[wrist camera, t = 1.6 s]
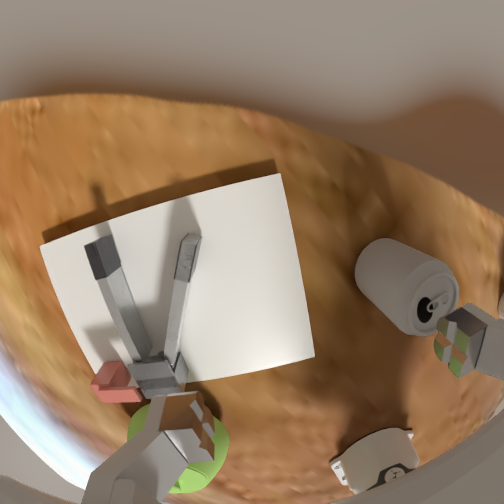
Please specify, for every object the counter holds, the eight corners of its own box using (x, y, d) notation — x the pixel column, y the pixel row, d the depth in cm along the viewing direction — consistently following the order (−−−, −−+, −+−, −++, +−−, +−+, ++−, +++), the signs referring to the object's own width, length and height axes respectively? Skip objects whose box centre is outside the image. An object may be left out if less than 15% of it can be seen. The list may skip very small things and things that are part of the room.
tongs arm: (180, 350, 31) (174, 369, 27) (167, 347, 30) (161, 366, 27) (202, 236, 27) (197, 245, 24) (188, 232, 27) (180, 240, 24)
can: (341, 257, 31) (393, 299, 19) (391, 224, 30) (457, 248, 18) (364, 306, 32) (413, 358, 21) (410, 273, 32) (469, 311, 20)
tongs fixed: (189, 370, 32) (183, 395, 27) (155, 374, 32) (146, 398, 27) (135, 226, 27) (117, 235, 22) (99, 237, 27) (77, 248, 22)
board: (312, 350, 34) (315, 356, 32) (108, 383, 34) (105, 389, 32) (278, 173, 28) (280, 173, 27) (46, 243, 28) (39, 246, 27)
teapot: (163, 353, 33) (136, 428, 20) (262, 396, 35) (271, 471, 23) (122, 431, 37) (103, 486, 24) (198, 461, 39) (194, 517, 27)
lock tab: (153, 375, 32) (142, 404, 26) (113, 379, 32) (100, 405, 26) (144, 357, 31) (131, 386, 25) (103, 362, 31) (88, 387, 25)
